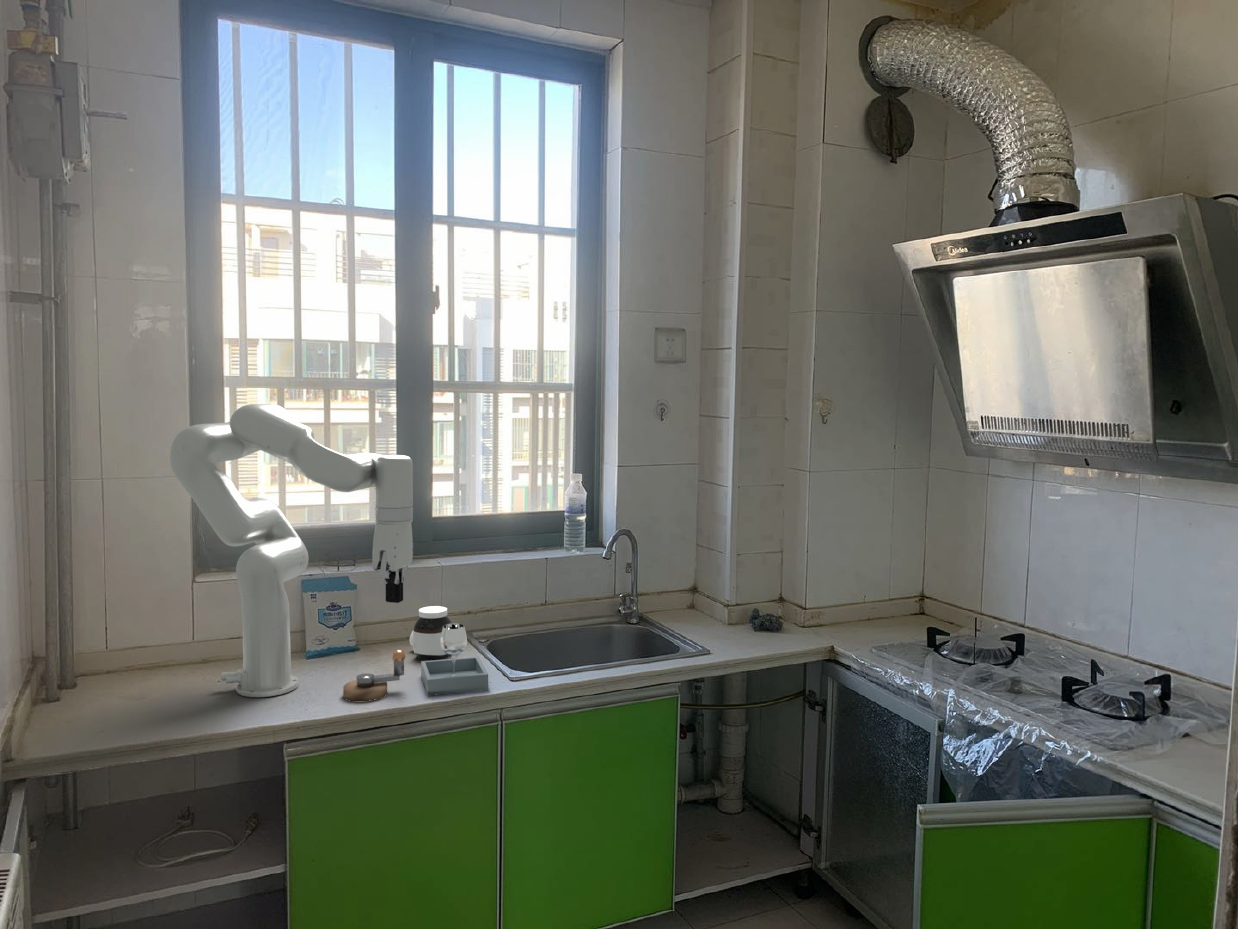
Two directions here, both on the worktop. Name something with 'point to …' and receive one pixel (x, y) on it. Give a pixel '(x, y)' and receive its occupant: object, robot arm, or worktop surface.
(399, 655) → the crank
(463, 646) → the wineglass
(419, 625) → the spread jar
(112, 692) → the worktop surface
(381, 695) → the crank base
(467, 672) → the tray
